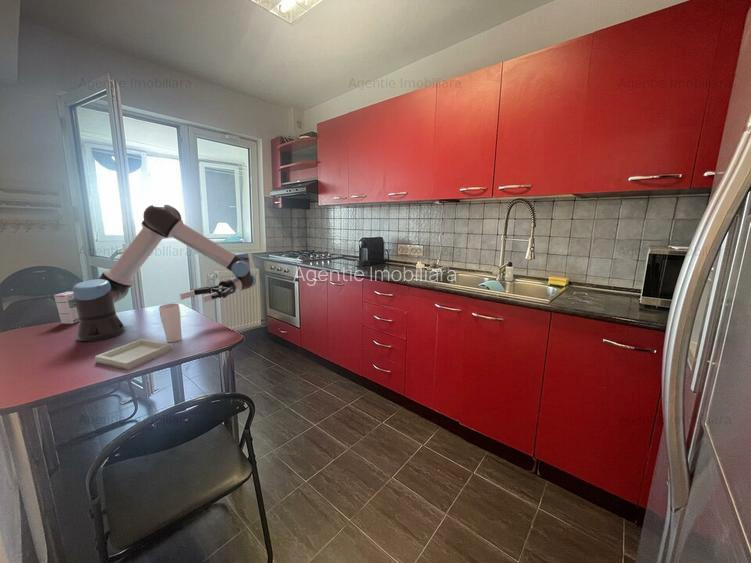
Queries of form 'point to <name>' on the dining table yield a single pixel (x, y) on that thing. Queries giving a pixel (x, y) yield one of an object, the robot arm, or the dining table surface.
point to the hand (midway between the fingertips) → (192, 297)
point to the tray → (133, 353)
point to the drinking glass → (171, 321)
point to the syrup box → (67, 308)
